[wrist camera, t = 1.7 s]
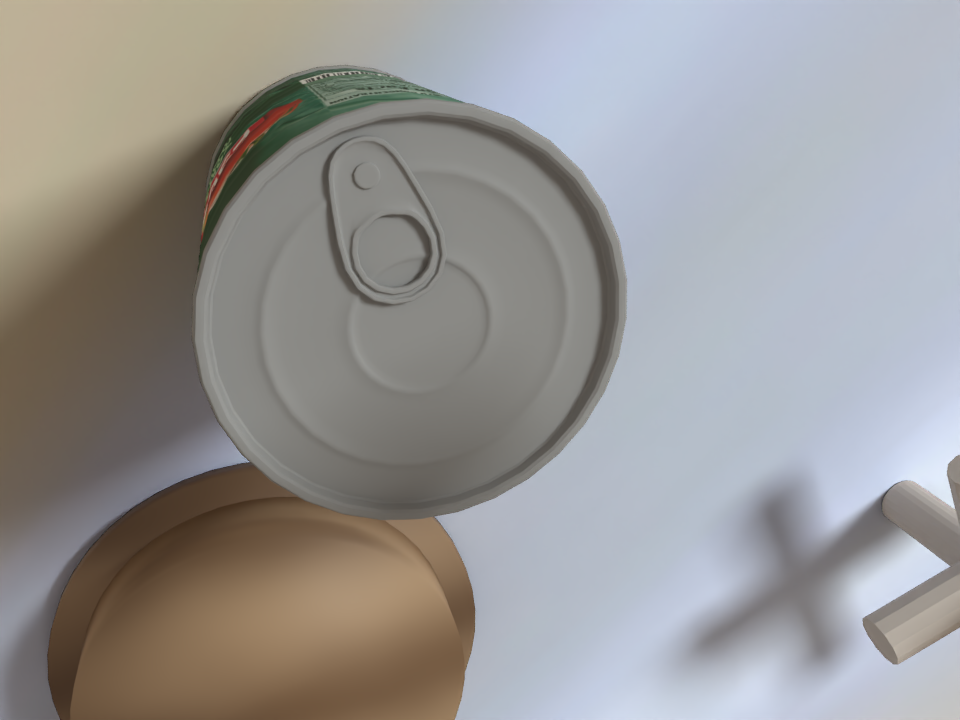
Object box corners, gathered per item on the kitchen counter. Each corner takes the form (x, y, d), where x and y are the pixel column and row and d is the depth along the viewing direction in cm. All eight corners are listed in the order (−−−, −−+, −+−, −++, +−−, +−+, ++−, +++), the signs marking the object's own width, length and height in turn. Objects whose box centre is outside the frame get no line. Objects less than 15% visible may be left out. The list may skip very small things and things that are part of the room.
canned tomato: (509, 279, 28) (668, 429, 18) (272, 373, 27) (300, 587, 17) (429, 23, 24) (571, 31, 14) (154, 120, 23) (103, 201, 13)
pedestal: (-23, 537, 26) (-51, 598, 23) (428, 407, 28) (449, 449, 26) (136, 850, 32) (128, 927, 29) (500, 720, 34) (524, 780, 31)
